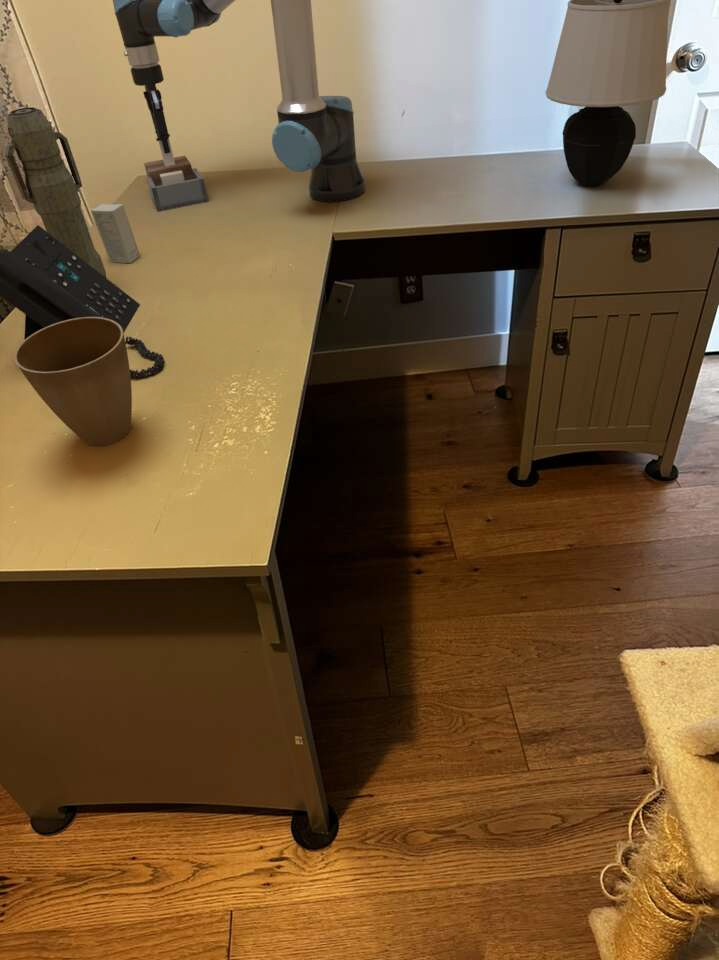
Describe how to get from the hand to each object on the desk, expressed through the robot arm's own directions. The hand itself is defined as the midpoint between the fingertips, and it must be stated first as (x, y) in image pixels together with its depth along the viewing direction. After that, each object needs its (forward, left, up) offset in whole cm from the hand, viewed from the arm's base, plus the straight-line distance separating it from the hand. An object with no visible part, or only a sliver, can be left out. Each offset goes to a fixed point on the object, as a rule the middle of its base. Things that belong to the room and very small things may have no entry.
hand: (169, 164), depth 181 cm
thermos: (-51, +28, -9) cm, 59 cm away
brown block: (+8, 0, -9) cm, 12 cm away
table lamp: (-55, -98, -9) cm, 113 cm away
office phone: (-77, +27, -9) cm, 82 cm away
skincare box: (-38, +19, -9) cm, 43 cm away
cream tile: (-1, 0, -5) cm, 5 cm away
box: (-3, 0, -9) cm, 9 cm away
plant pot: (-108, +29, -9) cm, 112 cm away
